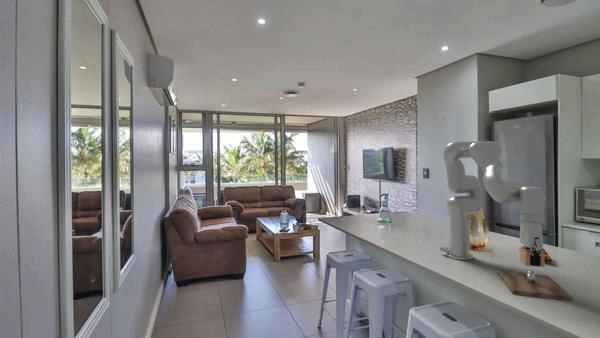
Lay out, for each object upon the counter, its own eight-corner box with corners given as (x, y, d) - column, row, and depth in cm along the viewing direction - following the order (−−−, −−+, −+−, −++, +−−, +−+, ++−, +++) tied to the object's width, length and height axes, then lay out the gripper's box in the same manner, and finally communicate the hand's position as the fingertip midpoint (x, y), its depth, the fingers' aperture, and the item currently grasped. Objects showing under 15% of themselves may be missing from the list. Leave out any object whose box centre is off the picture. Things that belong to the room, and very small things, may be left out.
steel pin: (528, 283, 117) (528, 271, 117) (526, 280, 120) (526, 269, 119) (536, 284, 117) (536, 272, 116) (533, 281, 119) (533, 270, 119)
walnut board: (512, 293, 112) (512, 289, 112) (497, 274, 131) (497, 271, 131) (572, 300, 106) (572, 296, 106) (548, 279, 124) (548, 275, 124)
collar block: (525, 265, 116) (525, 252, 116) (520, 260, 121) (520, 248, 121) (544, 267, 114) (544, 254, 114) (538, 262, 119) (538, 249, 119)
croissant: (515, 258, 161) (507, 245, 161) (531, 249, 161) (524, 236, 161) (545, 271, 140) (537, 257, 140) (564, 261, 140) (556, 246, 140)
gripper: (513, 213, 127) (513, 255, 127) (528, 221, 110) (528, 269, 111) (534, 214, 124) (534, 257, 124) (553, 222, 108) (553, 271, 108)
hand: (532, 262), depth 118 cm, fingers closed on collar block, 6 cm apart
